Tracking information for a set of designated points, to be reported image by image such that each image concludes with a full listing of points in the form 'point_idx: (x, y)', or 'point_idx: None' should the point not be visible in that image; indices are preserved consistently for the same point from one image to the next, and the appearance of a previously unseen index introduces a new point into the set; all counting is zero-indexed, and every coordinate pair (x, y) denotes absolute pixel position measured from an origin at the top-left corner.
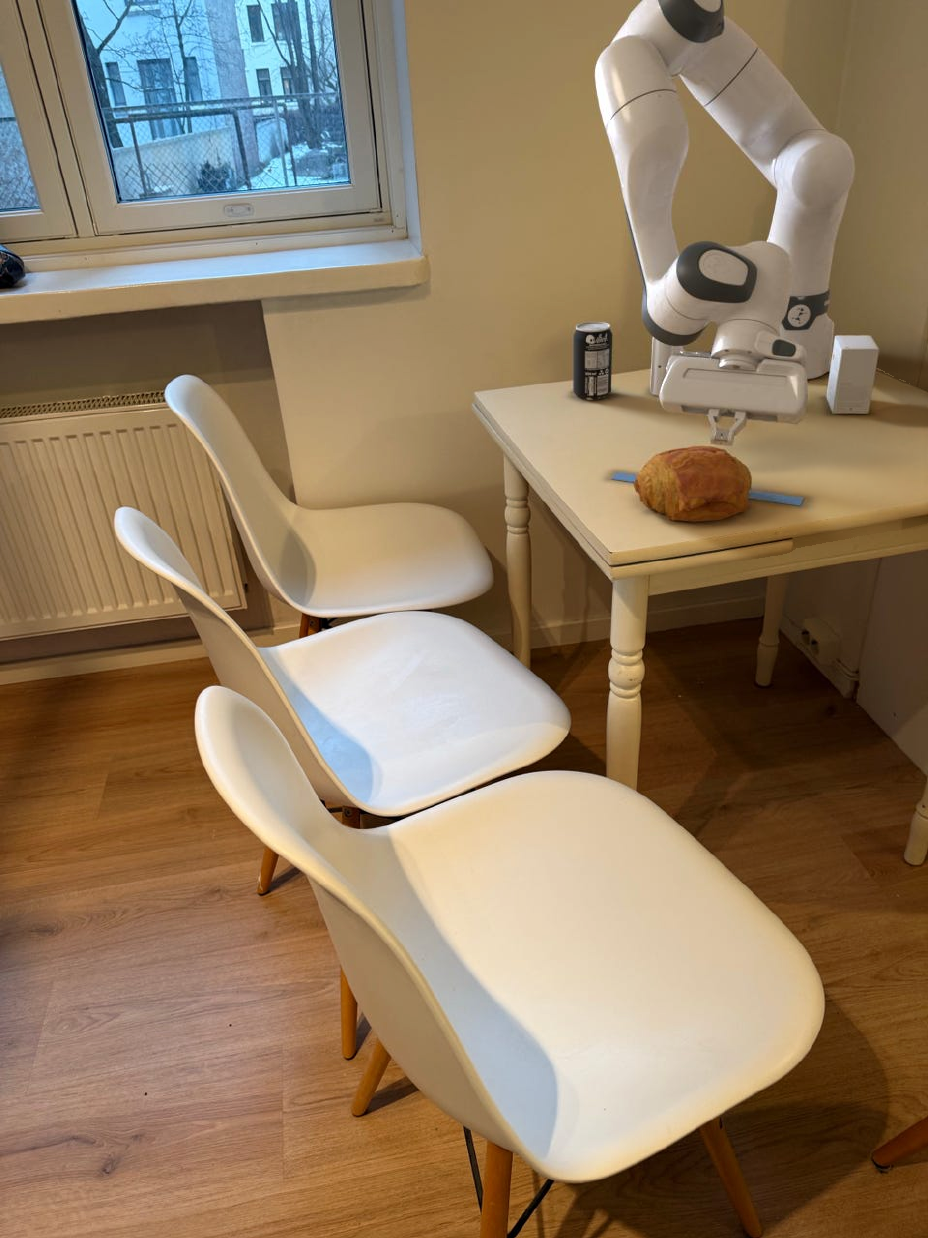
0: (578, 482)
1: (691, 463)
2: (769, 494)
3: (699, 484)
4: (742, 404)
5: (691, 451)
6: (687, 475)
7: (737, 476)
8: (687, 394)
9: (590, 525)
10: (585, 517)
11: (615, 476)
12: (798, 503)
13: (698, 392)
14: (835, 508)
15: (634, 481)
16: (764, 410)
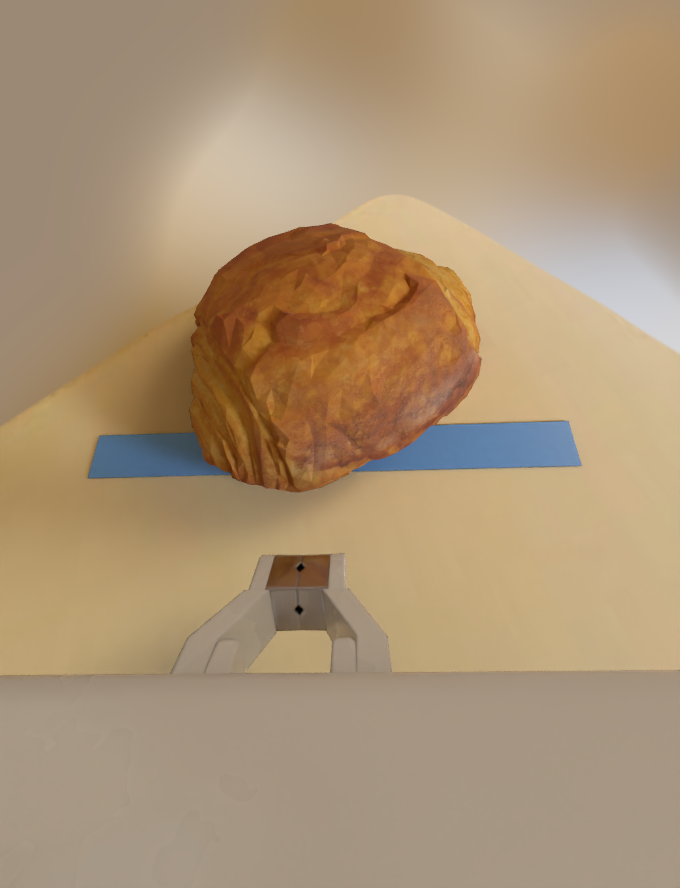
0: (629, 378)
1: (320, 240)
2: (168, 468)
3: (288, 236)
4: (166, 695)
5: (343, 299)
6: (320, 229)
7: (205, 299)
8: (610, 743)
9: (478, 233)
10: (504, 252)
11: (568, 437)
12: (103, 444)
13: (533, 773)
14: (24, 451)
15: (506, 427)
16: (37, 675)
